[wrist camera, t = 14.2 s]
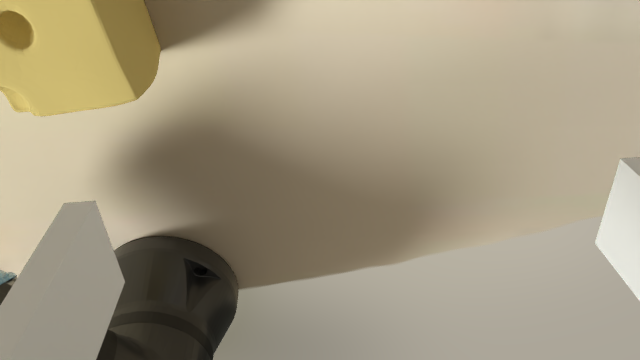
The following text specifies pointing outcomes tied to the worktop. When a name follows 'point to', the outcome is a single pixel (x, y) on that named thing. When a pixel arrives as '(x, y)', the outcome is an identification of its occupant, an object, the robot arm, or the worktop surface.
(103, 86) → the cheese
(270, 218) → the worktop surface
